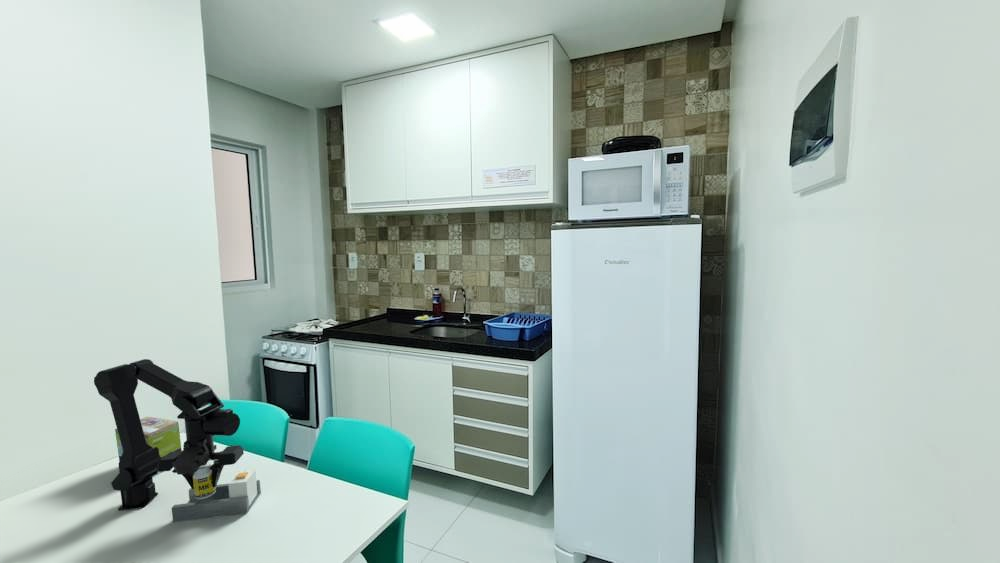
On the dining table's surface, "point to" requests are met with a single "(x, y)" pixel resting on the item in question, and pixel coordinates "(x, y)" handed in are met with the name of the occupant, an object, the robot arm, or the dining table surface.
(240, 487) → the seated module
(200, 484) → the supplement bottle
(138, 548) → the dining table surface
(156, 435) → the tea box
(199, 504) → the grey tray
